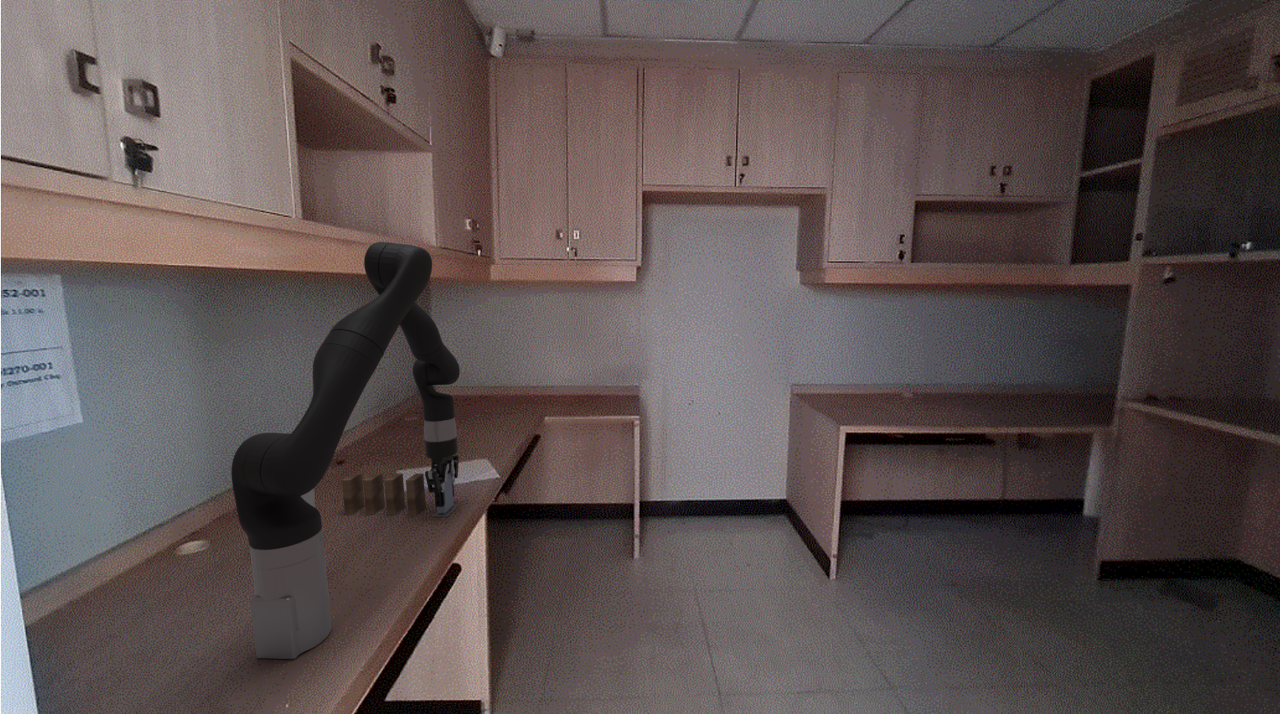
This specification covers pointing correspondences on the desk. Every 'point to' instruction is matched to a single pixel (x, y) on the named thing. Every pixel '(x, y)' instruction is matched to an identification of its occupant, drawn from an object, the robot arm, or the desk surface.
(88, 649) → the desk surface
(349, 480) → the tile
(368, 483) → the tile
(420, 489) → the tile
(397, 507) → the tile
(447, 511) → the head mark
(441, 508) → the blue-grey rectangular block
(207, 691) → the desk surface
